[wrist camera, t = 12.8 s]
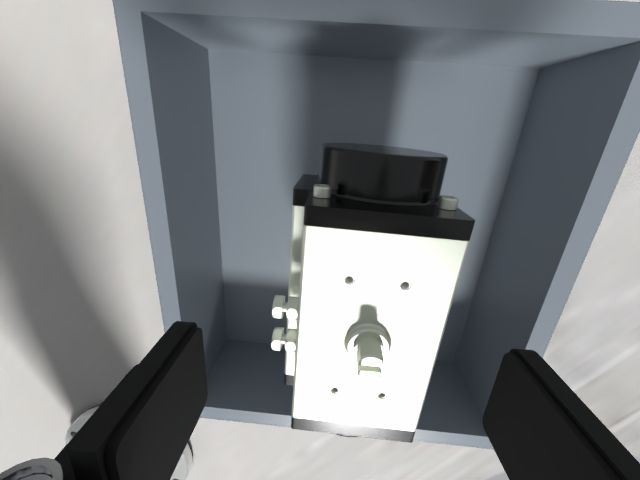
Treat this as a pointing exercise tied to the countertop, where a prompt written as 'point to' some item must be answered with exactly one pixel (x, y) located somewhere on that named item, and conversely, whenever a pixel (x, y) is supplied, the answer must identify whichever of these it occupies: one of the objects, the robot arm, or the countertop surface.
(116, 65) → the countertop surface
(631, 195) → the countertop surface
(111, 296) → the countertop surface
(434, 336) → the pneumatic valve
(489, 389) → the parts bin
